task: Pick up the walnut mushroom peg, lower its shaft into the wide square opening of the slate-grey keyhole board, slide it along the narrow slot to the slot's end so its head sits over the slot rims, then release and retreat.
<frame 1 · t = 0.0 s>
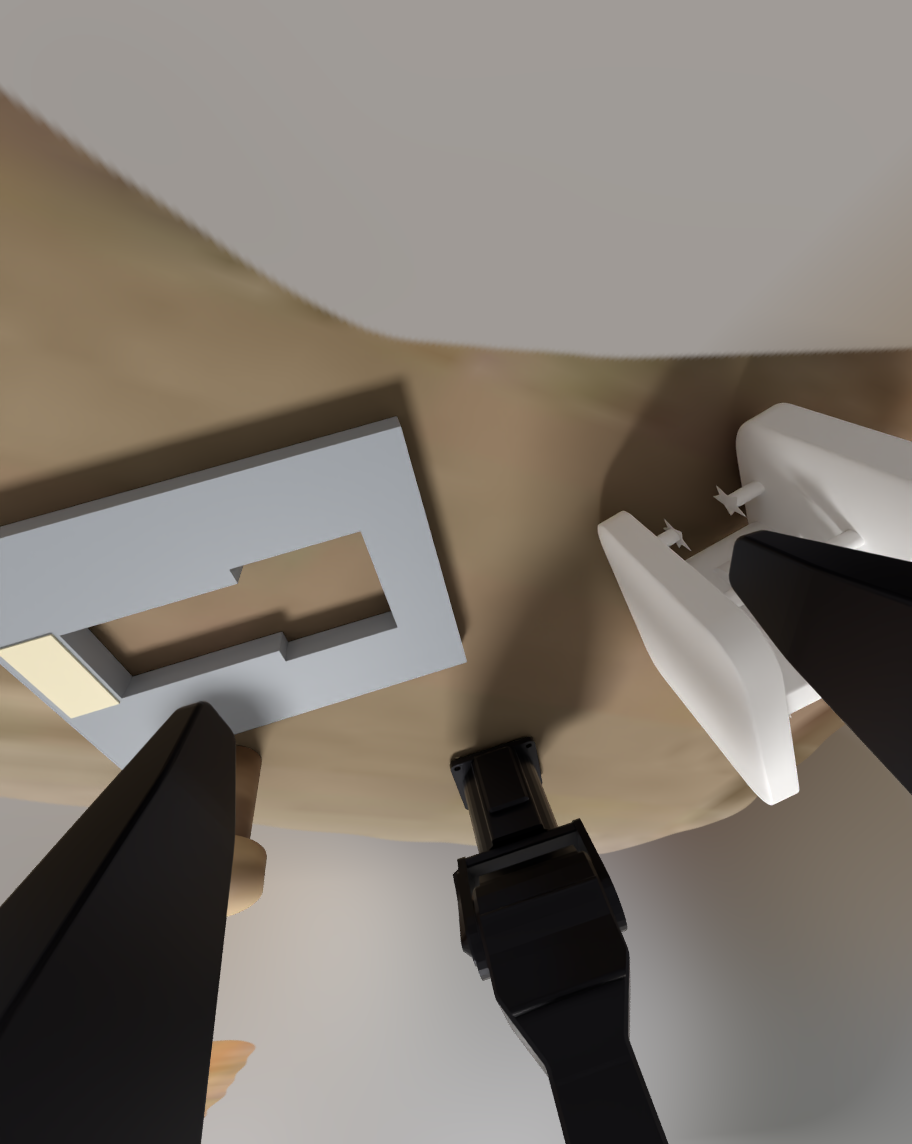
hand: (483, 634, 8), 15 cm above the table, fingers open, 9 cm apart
peg: (232, 762, 29), on the table
keyhole board: (244, 606, 23), on the table
cable organizer: (692, 544, 28), on the table
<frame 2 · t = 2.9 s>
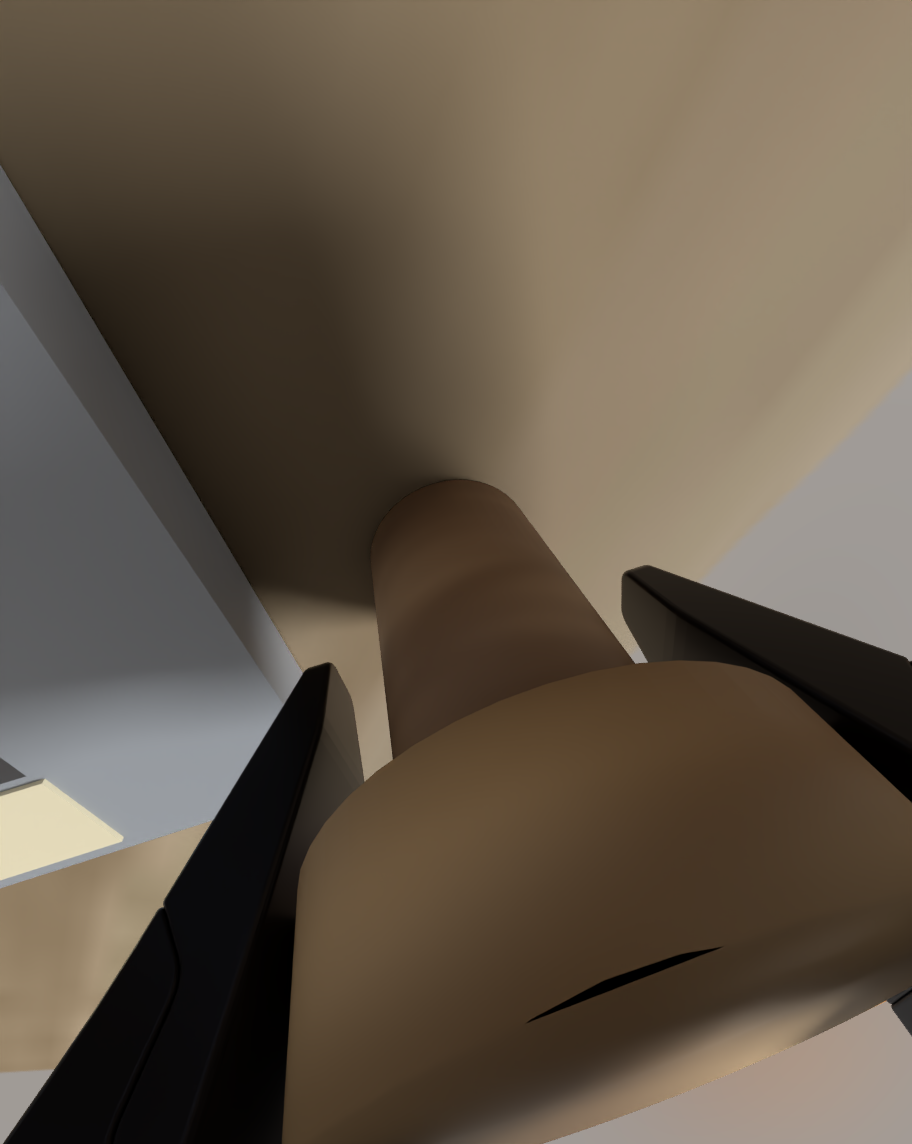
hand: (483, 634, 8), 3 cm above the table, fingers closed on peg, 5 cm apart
peg: (452, 556, 10), on the table, touching gripper
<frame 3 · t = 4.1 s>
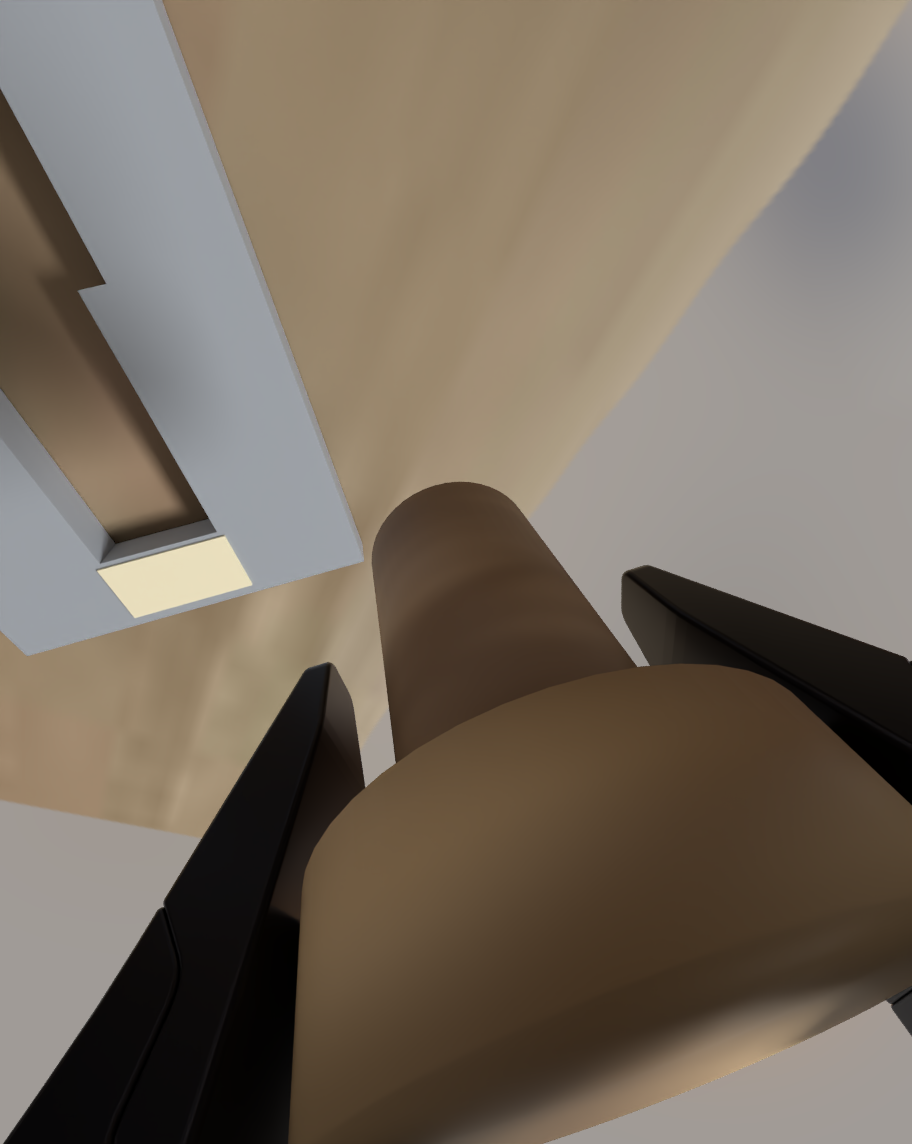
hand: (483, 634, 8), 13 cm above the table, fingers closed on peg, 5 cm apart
peg: (453, 557, 10), point 10 cm above the table, touching gripper
keyhole board: (49, 341, 15), on the table
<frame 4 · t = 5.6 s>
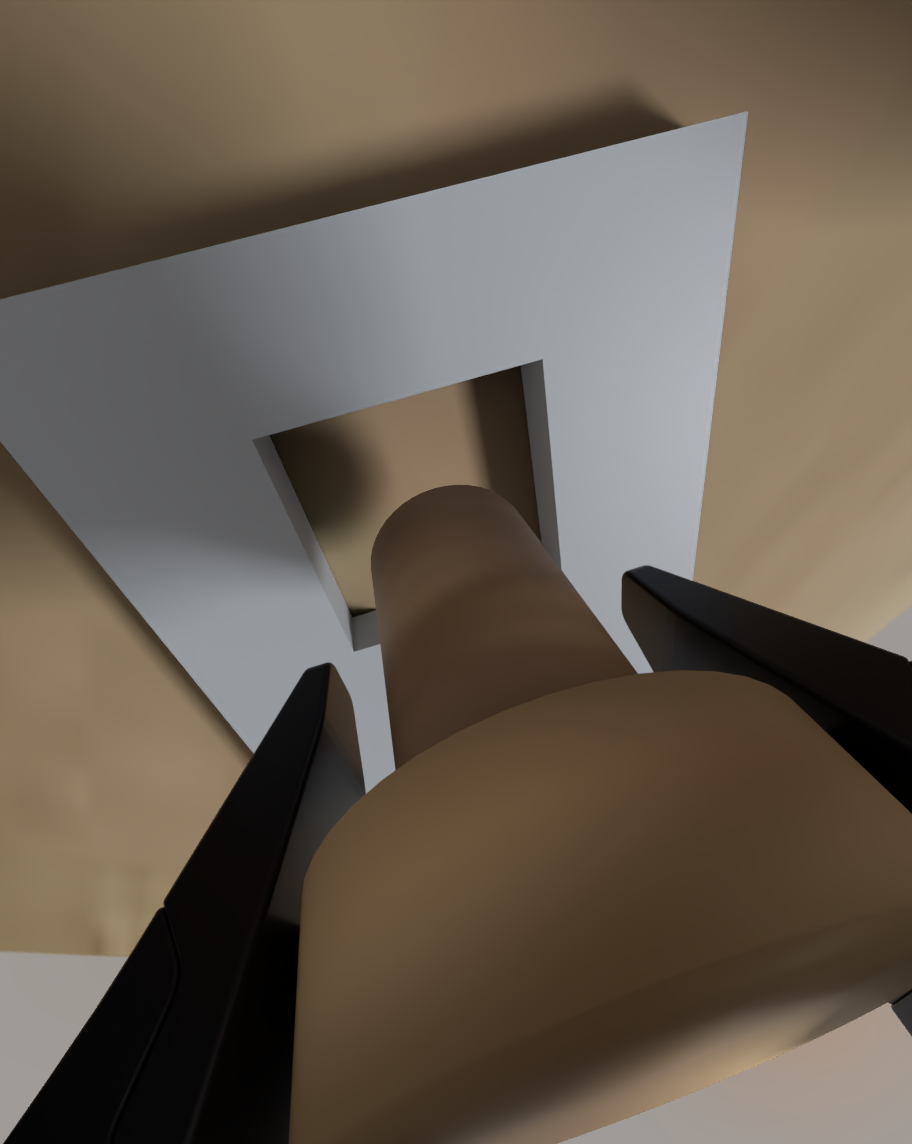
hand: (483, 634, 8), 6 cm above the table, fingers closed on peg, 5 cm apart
peg: (452, 560, 10), point 3 cm above the table, touching gripper
keyhole board: (455, 612, 14), on the table
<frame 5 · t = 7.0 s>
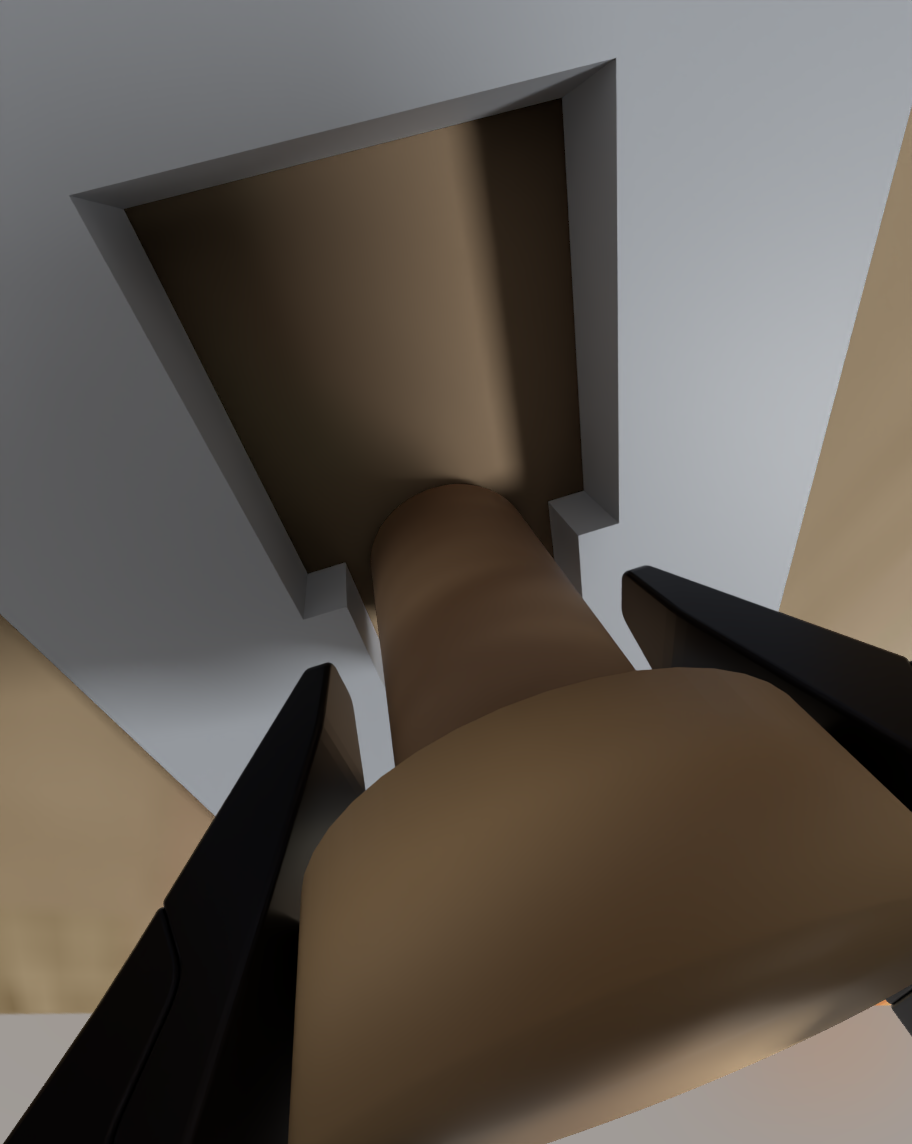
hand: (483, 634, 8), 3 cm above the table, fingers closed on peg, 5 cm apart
peg: (452, 559, 10), resting in keyhole board, touching gripper
keyhole board: (457, 569, 10), on the table
when the fingers open (3 cm above the table, at t = 8.4 s): peg stays where it is, resting in keyhole board.
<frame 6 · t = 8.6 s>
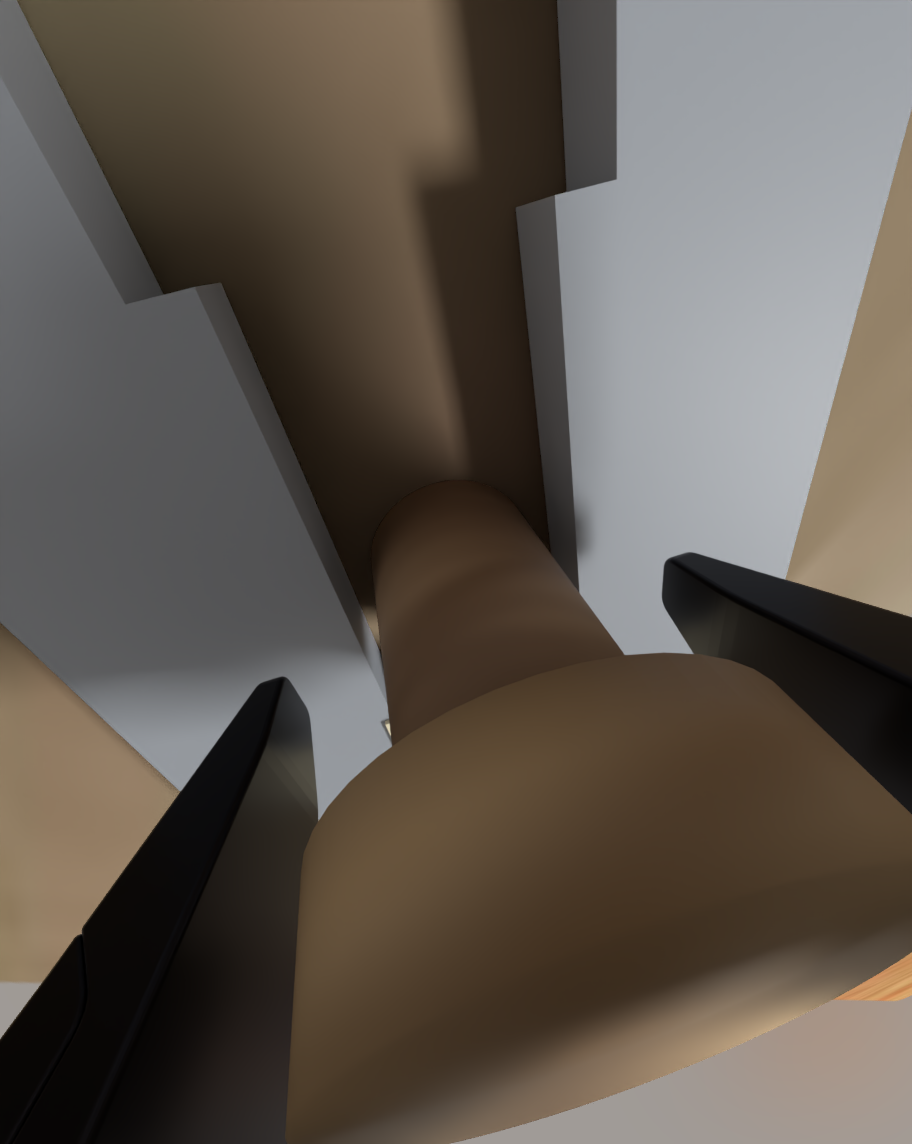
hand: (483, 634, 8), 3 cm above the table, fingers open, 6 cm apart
peg: (451, 555, 10), resting in keyhole board
keyhole board: (390, 320, 7), on the table
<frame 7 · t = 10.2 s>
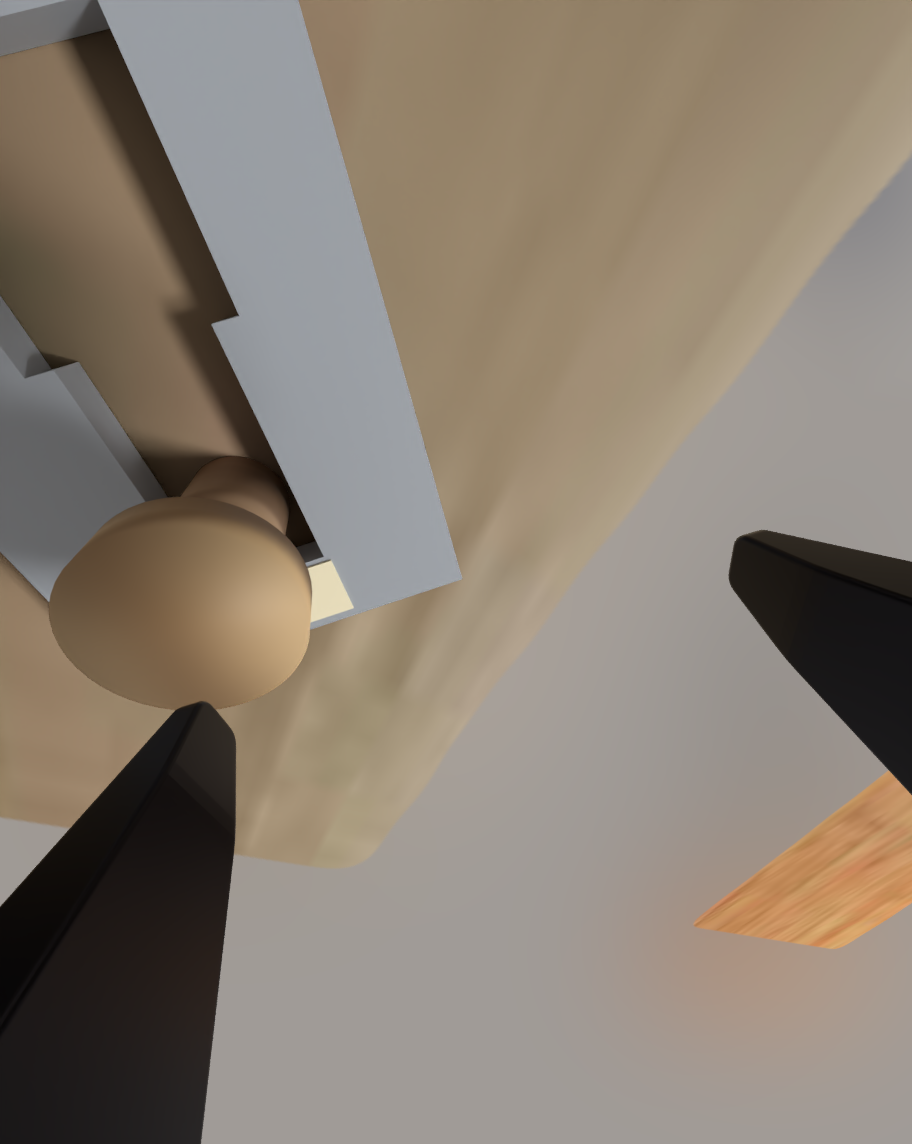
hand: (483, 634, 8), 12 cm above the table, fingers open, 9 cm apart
peg: (241, 501, 17), resting in keyhole board
keyhole board: (169, 374, 15), on the table
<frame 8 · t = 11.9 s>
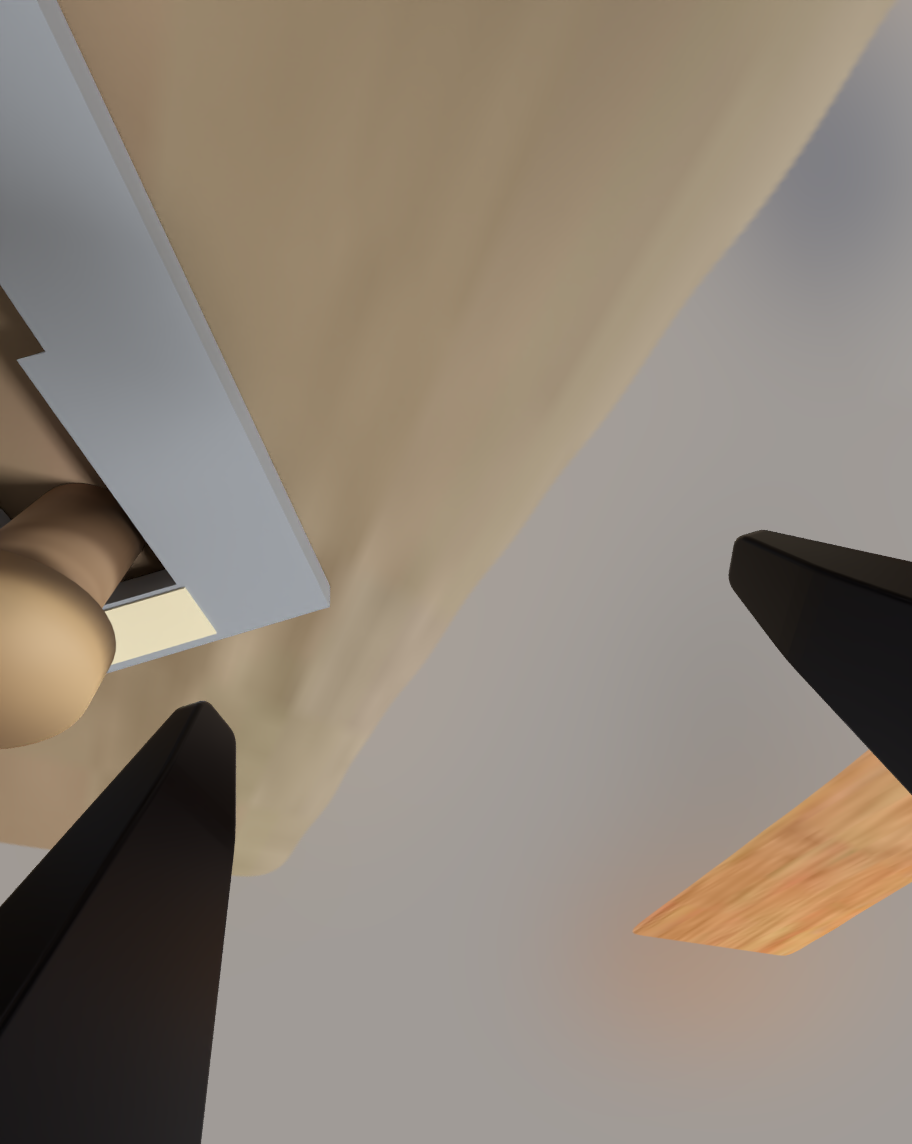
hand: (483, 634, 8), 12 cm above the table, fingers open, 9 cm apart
peg: (93, 526, 17), resting in keyhole board
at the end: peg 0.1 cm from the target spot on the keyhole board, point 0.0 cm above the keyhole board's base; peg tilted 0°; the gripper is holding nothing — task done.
